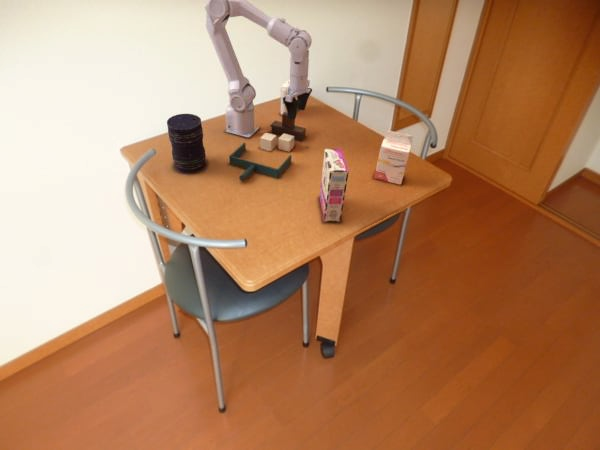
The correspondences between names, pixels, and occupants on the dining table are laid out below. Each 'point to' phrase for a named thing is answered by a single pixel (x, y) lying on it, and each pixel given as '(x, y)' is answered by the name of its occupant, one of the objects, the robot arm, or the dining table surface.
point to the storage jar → (187, 143)
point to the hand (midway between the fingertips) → (296, 114)
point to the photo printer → (283, 94)
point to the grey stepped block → (288, 128)
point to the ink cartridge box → (393, 157)
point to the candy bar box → (333, 185)
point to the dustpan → (255, 165)
